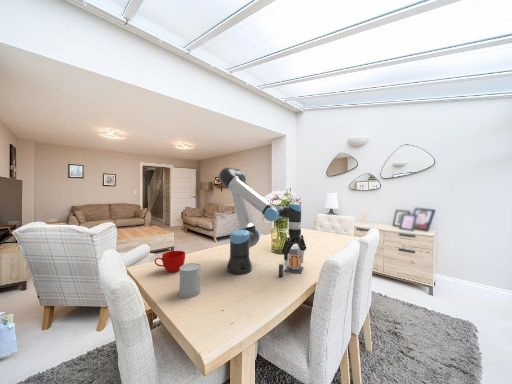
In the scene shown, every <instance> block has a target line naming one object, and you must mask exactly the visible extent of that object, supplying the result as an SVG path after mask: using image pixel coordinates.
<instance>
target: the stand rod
mask: <svg viewBox="0 0 512 384" xmlns="http://www.w3.org/2000/svg"><path fill="white" fill-rule="evenodd" d="M278 277H279V278H283V277H284V264H283V263H282V264H278Z"/></svg>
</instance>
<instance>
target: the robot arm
mask: <svg viewBox="0 0 512 384" xmlns="http://www.w3.org/2000/svg"><path fill="white" fill-rule="evenodd" d="M218 178H219V179H218V180H219V181H220V183H221V184H222V185H223V186H225V188H227V189H228V191H229V192H230V193H231V196H232V200H233V203H234V209H235V213H236V217H237V221H238V228H237V229H235V230H233V231H232V232H231V233H230V235H229V251H230V252H229V259H228V262H227V265H226V272H228V273H229V274H234V275H245V274H248V273H251V272H252V270H253V265H252V261H251V258H250V249H251V248H252V247H254V246H255V245H256V244H258V243H259V240H260V236H261V235H260V232H259V230H258V229H257V228H256V226H255V224H254V223H253V222H252V218H251V215H250V214H251V213H250V211H249V206H248V205H249V204H250V205H251V206H252V207H253V208H254V209H256V210H258V211H259V212H260V213H261V214H262V215H264V219H266V220H267V221H268V222H275V221H277V220H278V219H288V235H289V236H288V237H285V240H284V244H283V245H282V249H281V254H283V260H284V266H286V267H287V266H289V251H290V249H291V247H292V246H294V245H295V244H296V246H299V248H300V249H301V250H299V256H301V262H304V255H305V251H307V250H306V249H307V244H306V243H305V239H304V235H303V234H302V229H301V228H302V204H300V203H297V202H293V203H291V202H290V203H288V206H287V205H285V206H284V205H273V204H272V203H270V202H269V201H268V200H267V199H265V198H264V197H262V196H261V195H260V194H259V193H257V192H256V191H255V190H253V188H251V187H249V185H247V184H246V183H245V182H246V174H245V173H244V171H242V170H241V169H238V168H233V167H224V168H222V169H221V170H220V171H219V175H218Z"/></svg>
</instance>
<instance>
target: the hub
mask: <svg viewBox="0 0 512 384" xmlns="http://www.w3.org/2000/svg"><path fill="white" fill-rule="evenodd" d="M304 268H305V267H304V266H301V267H291V266H287V265H286V266H285V268H284V269H283V272H285V271H287V272H286V273H292V272H293V273H294V274H298V273H299V274H301V275H302V272H303V271H302V270H304ZM293 273H292V274H293Z"/></svg>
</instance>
